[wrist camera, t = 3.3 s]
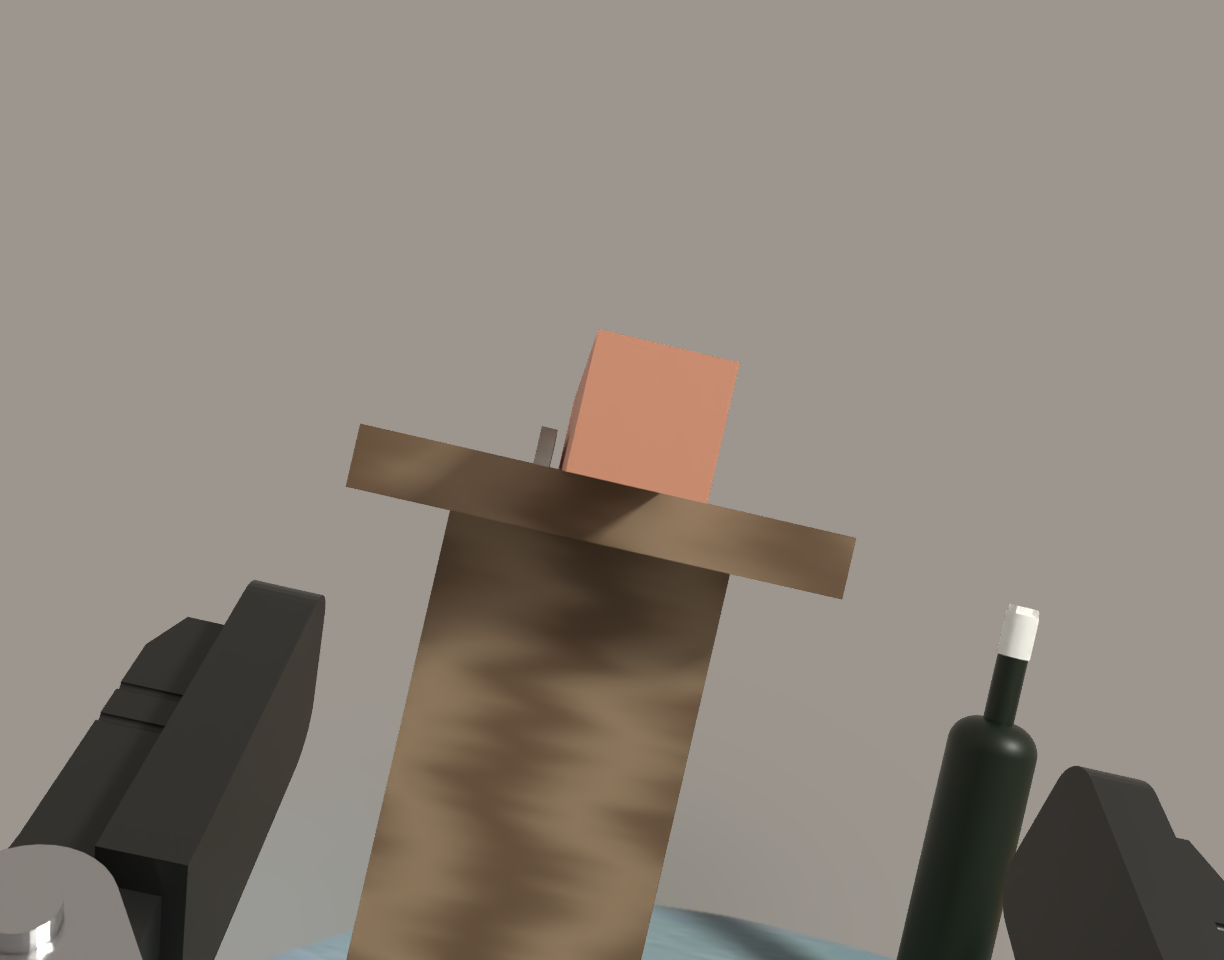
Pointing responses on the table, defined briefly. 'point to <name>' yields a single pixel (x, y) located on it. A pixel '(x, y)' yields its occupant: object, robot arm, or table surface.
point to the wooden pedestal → (551, 699)
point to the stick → (649, 416)
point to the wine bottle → (975, 815)
